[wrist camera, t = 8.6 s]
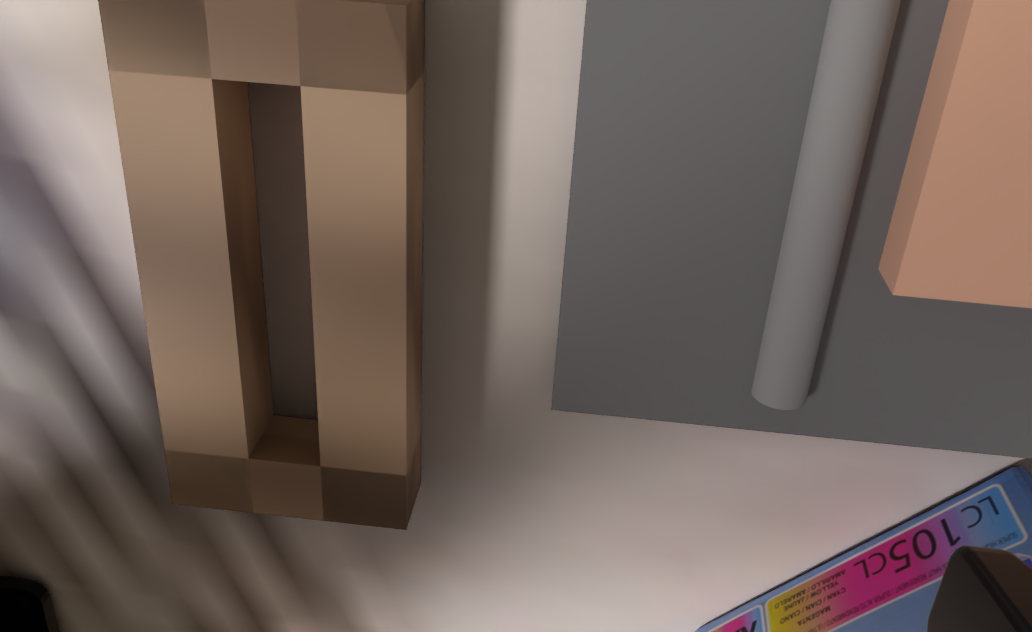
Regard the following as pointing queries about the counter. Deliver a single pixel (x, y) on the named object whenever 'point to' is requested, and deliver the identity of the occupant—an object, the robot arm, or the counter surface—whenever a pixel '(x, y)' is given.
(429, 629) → the counter surface
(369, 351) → the stand
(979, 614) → the robot arm
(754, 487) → the counter surface
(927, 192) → the tile
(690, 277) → the mat
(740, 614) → the ink cartridge box
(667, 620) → the counter surface
